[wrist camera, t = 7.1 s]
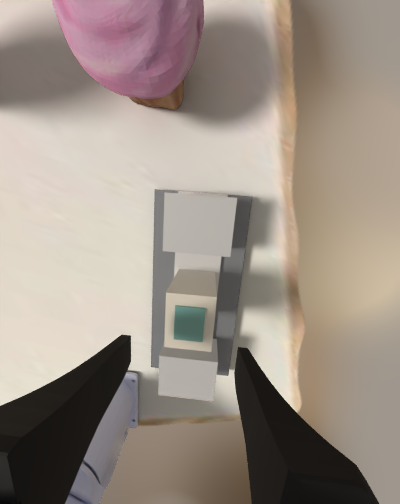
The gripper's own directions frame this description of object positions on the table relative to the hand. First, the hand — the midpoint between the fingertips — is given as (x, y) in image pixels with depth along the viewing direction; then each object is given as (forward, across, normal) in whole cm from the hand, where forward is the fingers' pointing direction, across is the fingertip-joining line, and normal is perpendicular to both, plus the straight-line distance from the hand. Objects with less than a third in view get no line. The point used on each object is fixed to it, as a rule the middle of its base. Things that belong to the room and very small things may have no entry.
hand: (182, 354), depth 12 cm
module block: (+9, 0, 0) cm, 9 cm away
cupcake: (+11, +5, -21) cm, 24 cm away
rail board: (+10, 0, 0) cm, 10 cm away
